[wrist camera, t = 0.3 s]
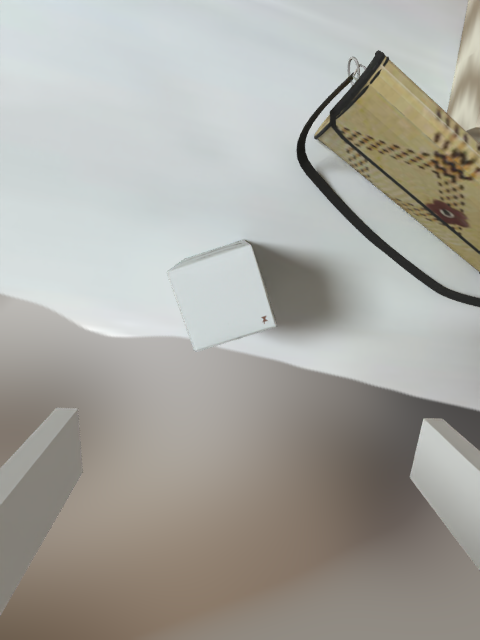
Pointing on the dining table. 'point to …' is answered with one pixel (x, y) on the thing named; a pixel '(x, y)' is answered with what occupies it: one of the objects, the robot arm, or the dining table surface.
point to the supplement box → (221, 295)
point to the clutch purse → (404, 160)
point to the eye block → (468, 75)
